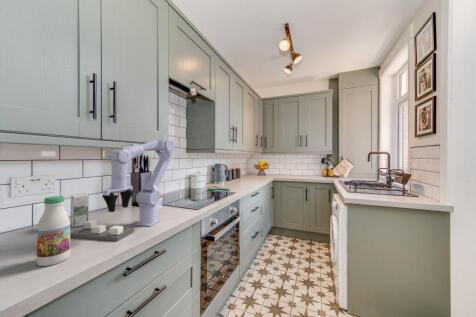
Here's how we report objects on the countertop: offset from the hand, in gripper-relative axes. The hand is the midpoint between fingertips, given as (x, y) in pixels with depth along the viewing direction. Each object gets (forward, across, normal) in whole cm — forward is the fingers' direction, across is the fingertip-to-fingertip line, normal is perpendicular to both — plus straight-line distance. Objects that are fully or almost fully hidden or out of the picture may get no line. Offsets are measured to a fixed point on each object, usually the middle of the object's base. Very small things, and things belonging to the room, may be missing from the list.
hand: (118, 209), depth 84 cm
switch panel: (+10, +2, -6) cm, 12 cm away
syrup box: (+11, -6, -26) cm, 29 cm away
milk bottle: (+11, +22, -4) cm, 25 cm away
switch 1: (+9, 0, -14) cm, 16 cm away
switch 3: (+9, +4, +2) cm, 10 cm away
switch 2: (+9, +4, -6) cm, 11 cm away
